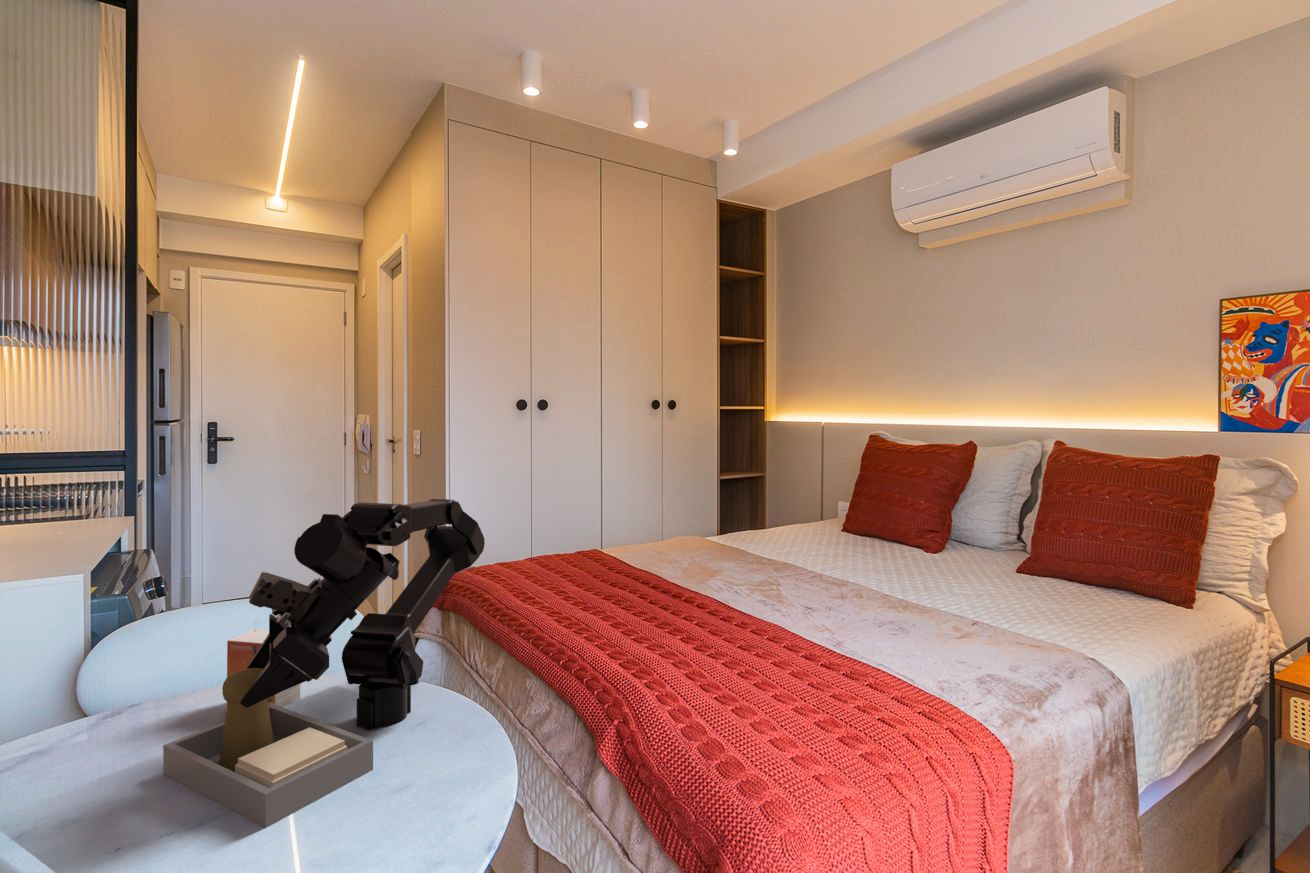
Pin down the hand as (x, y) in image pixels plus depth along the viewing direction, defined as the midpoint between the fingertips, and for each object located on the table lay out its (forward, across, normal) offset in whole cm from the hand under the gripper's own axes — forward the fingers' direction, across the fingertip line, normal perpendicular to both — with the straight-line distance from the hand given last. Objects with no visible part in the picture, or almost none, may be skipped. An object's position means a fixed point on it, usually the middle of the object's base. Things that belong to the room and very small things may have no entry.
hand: (244, 690), depth 81 cm
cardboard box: (+3, +8, +10) cm, 13 cm away
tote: (+5, +4, +9) cm, 11 cm away
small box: (+6, -19, +8) cm, 22 cm away
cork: (+6, 0, +7) cm, 9 cm away
